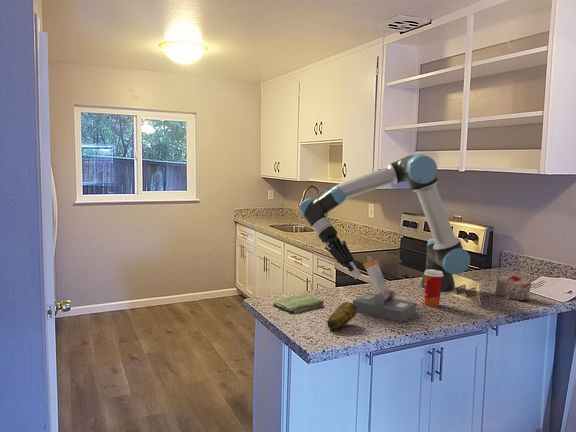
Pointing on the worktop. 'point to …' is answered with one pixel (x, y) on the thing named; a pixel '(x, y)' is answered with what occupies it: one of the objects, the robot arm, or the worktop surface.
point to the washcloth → (299, 303)
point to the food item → (513, 288)
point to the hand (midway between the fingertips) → (358, 276)
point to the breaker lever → (377, 279)
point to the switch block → (385, 307)
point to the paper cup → (432, 287)
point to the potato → (342, 315)
